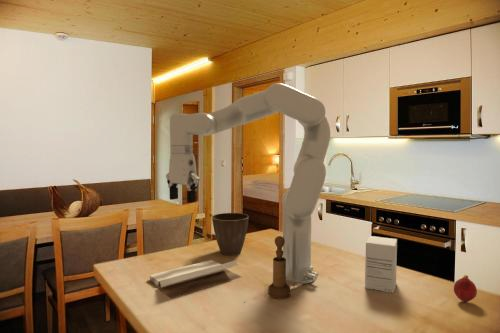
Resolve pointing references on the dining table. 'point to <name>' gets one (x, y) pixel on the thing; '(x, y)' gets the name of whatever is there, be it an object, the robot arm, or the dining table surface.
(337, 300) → the dining table surface
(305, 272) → the robot arm
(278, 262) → the mortar and pestle
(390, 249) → the supplement box
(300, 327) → the dining table surface
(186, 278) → the pale plank
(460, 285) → the onion
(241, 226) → the plant pot
